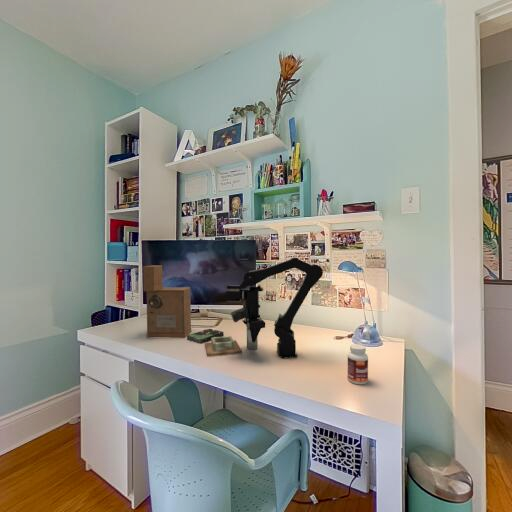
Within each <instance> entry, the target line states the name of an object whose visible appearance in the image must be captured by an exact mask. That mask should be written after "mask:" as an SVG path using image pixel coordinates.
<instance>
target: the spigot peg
mask: <svg viewBox="0 0 512 512" xmlns="http://www.w3.org/2000/svg"><path fill="white" fill-rule="evenodd" d="M247 326H248V325H247ZM247 326H246V350H247V351H250V352H255V351H258V348H259V347H258V346H259V343H258V341H259V340H258V339H259V338H258V337H259V335H258V336H257V338H256V341H255V342H252V339H251V333H250V329H249V328H248V327H247Z"/></svg>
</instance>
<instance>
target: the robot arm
mask: <svg viewBox="0 0 512 512" xmlns="http://www.w3.org/2000/svg"><path fill="white" fill-rule="evenodd" d="M294 268H295V269H296V270H299V271H301V272H303V273H305V274H304V277H303V280H302V283H301V284H300V286H299V288H298V290H297V291H296V294H295V295H294V297H293V299H292V301H291V302H290V303H289V306H288V308H286V309H287V310H286V311H285V312H284V313H283V314H281V313H279V314H278V316H277V319H276V320H275V321H274V324H273V327H274V329H273V333H274V335H275V336H276V337H277V338H278V340H277V343H276V353H277V355H278V356H279V357H280V358H281V359H287V358H288V359H289V358H290V359H291V358H298V354H297V352H296V351H297V350H296V347H297V346H296V341H297V340H296V338H295V332H294V330H293V329H292V328H291V327H292V324H293V322H294V318H295V317H296V315H297V313H298V312H299V309H300V308H301V307H302V304H303V303H304V301H305V299H306V297H307V296H308V294H309V293H310V290H311V289H312V288H313V287H314V286H315V285H316V284H317V283H318V281H320V279H321V278H322V276H323V274H324V271H323V268H322V266H320V265H319V264H316V263H312V264H310V263H308V262H306V261H303V260H301V259H299V258H298V257H292V258H290V259H288V260H285V261H283V262H278V263H277V264H273V265H271V266H269V267H265V268H260V269H254V270H249V271H247V272H246V273H244V275H243V281H242V282H241V283H240V284H239V285H236V284H235V285H233V284H228V285H227V286H226V293H225V300H226V302H228V303H229V302H230V303H232V302H233V303H235V302H236V303H240V302H241V301H242V300H244V303H243V304H242V307H241V308H238V309H236V310H234V311H232V312H230V316H231V318H232V321H233V322H234V323H237V322H238V321H241V320H242V323H243V324H245V325H246V328H247V327H248V328H249V329H250V333H251V339H252V342H255V341H256V338H257V336H258V337H259V333H260V332H261V330H262V329H265V328H266V322H265V321H264V320H263V319H262V318H261V314H260V308H261V304H260V297H259V296H260V293H259V292H263V291H264V287H262V286H261V285H260V284H259V283H260V282H262V281H264V280H265V279H267V278H271V277H273V276H275V275H278V274H281V273H283V272H286V271H289V270H292V269H294ZM257 284H258V286H255V285H257ZM248 286H249V288H248ZM247 325H248V326H247Z"/></svg>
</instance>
